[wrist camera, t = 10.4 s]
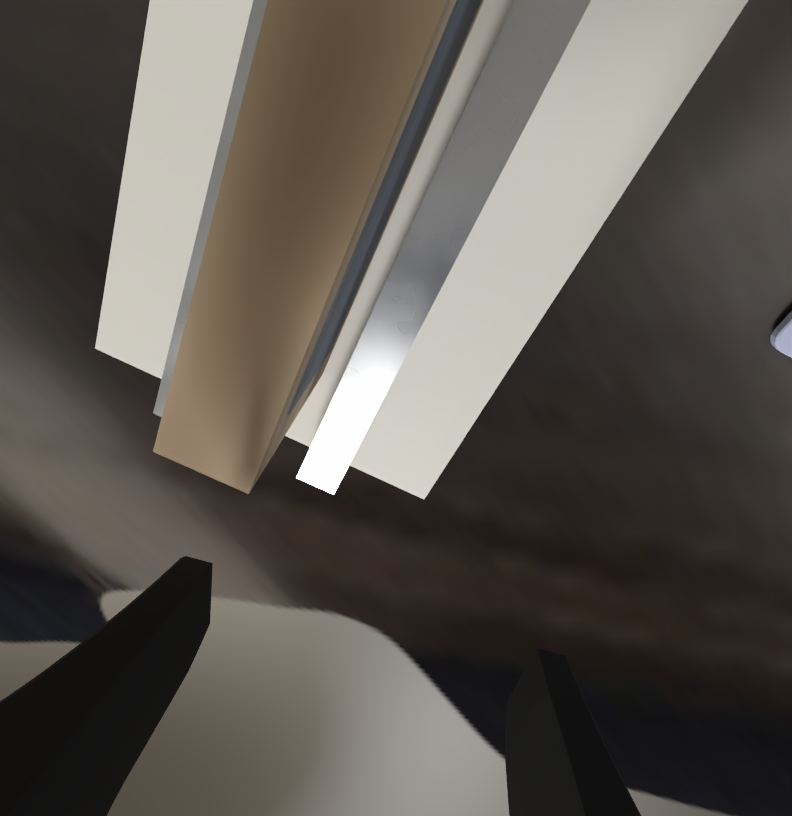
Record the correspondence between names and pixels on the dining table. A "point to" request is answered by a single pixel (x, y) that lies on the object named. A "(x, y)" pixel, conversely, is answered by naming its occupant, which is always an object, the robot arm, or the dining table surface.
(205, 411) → the tan wooden frame
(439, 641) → the dining table surface
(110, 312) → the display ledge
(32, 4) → the dining table surface
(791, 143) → the dining table surface
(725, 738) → the dining table surface
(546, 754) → the robot arm
